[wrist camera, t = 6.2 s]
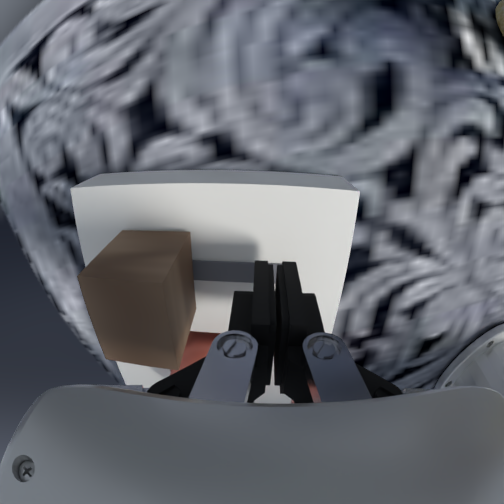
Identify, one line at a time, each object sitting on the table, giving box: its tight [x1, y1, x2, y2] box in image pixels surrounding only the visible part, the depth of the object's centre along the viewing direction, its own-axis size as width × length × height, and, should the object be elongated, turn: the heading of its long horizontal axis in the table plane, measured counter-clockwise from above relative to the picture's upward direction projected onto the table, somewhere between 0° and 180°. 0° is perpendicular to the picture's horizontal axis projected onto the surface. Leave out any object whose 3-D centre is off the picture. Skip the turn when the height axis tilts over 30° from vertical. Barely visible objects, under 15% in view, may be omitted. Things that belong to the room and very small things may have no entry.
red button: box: [170, 331, 221, 375], centre depth 16 cm, size 4×4×3 cm
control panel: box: [70, 170, 360, 404], centre depth 17 cm, size 13×21×4 cm, turn 178°
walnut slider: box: [77, 230, 196, 370], centre depth 11 cm, size 3×4×4 cm
